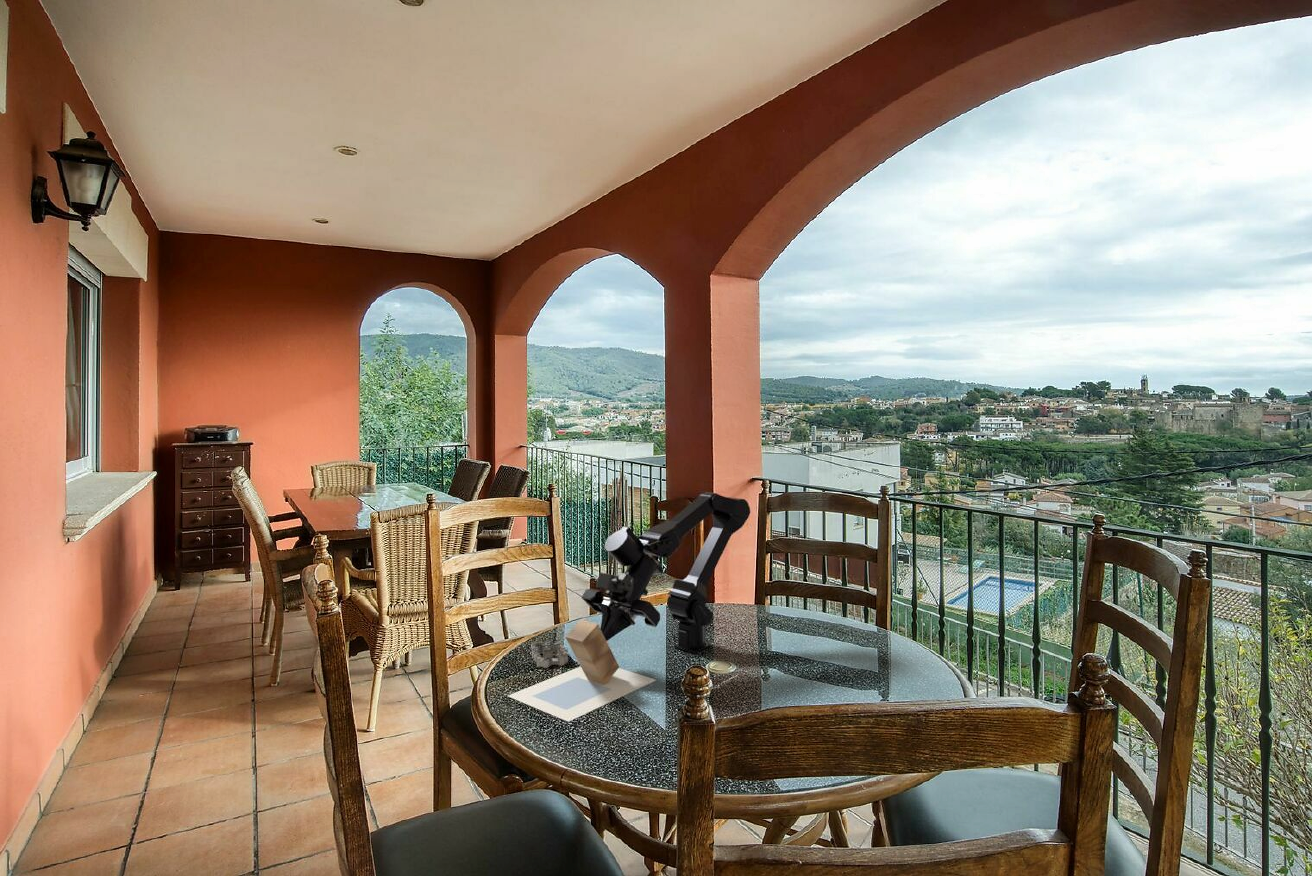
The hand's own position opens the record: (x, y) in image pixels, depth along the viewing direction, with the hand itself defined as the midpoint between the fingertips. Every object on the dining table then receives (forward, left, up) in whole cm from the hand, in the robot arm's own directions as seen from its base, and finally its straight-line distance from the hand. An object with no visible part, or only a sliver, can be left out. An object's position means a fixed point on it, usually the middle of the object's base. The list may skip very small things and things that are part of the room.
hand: (600, 642), depth 142 cm
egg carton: (-1, -18, -9) cm, 20 cm away
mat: (+5, 0, -8) cm, 10 cm away
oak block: (-1, 0, -7) cm, 7 cm away
